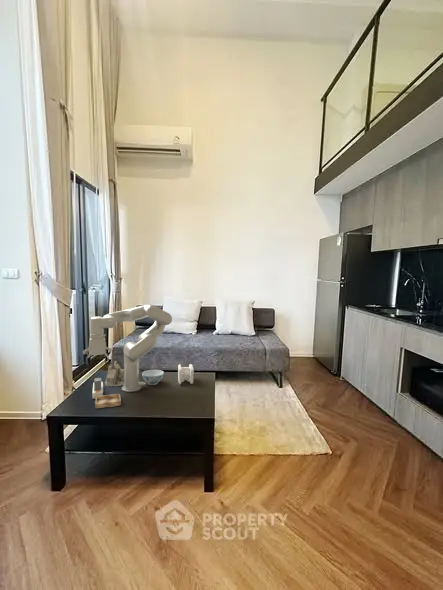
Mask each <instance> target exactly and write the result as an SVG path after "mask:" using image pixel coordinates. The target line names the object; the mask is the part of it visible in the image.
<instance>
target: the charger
mask: <svg viewBox="0 0 443 590" xmlns="http://www.w3.org/2000/svg"><path fill="white" fill-rule="evenodd" d="M93 381H94V382H93V383H94V391H98V390H101V382H102V377H95V378H94V380H93Z"/></svg>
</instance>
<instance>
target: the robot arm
mask: <svg viewBox="0 0 443 590" xmlns="http://www.w3.org/2000/svg"><path fill="white" fill-rule="evenodd" d="M144 318H145V319H146V318H150V319H152V320H153V321H154V323H153V324H152V325H151V326H150V327H149V328H148V329H146V330H144V331H143V332H142V333H141V334H140V335H139V336H138V338H137V342H135V341H128V342H127V343H125V344H124V346H123V360H124V361H123V369H124V385H121V386H122V387H121V391H123V392H132V393H133V392H138V391H140V390H141V389H142V386H146V385H147V382H146V381H140V359H141V358H142V357H143V356H145V355H146V354H147V353H148V352H151V351H152V350H153V348H155V346H156V344H157V342H158V341H157V338H158V337H160V336H161V335H162V334H163V333H164V330H165V328H166V326H169V325H170V324H171V323H172V321H173V316H172V315H171V313H169V312H167V311H166V310H164V309H161V308H159V307H158V306H156V305H154V304H150V303H146V304H143V305H139V306H136V307H135V306H134V307H132V308H128V309H124V310H119V311H114V312H111V313H107V314H105V315H103V317H102V316H92V317H91V318H90V338H89V341H88V347H87V348H86V349H84V350H82V354H83V355H84V357H86V358H87V363H88V365H91V356H96V355H104V363H105V364H107V362H108V357H109V356H110V354H111V353H112V351H113V349H112V348H110V347H108V346H107V342H106V338H105V337H107V334H106V333H104V331H105V330H104V329H114V328H115V327H116V326H117V325H118V323H123V322H127V323H128V322H129V323H130V322H131V323H133V322H136V321H138V320H142V319H144ZM107 350H108V352H107ZM86 352H88V353H86Z"/></svg>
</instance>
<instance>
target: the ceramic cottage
mask: <svg viewBox="0 0 443 590" xmlns="http://www.w3.org/2000/svg"><path fill="white" fill-rule="evenodd" d="M104 386H105V387H109V386H110V387H112V386H114V387H121V386H124V368H122V367H121V366H120V364H119V363H118V361H117V360H115V361H114V363H113V367H112V366H111V365H109V366H108V370H107V375H106V379H105V381H104Z"/></svg>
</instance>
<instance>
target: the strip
mask: <svg viewBox="0 0 443 590" xmlns="http://www.w3.org/2000/svg"><path fill="white" fill-rule="evenodd" d="M103 395H104V382H103V381H101V390H98V391H94V382H93V384H92V395H91V396H92V399H93V400H94V399H95V400H96V396H103Z"/></svg>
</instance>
